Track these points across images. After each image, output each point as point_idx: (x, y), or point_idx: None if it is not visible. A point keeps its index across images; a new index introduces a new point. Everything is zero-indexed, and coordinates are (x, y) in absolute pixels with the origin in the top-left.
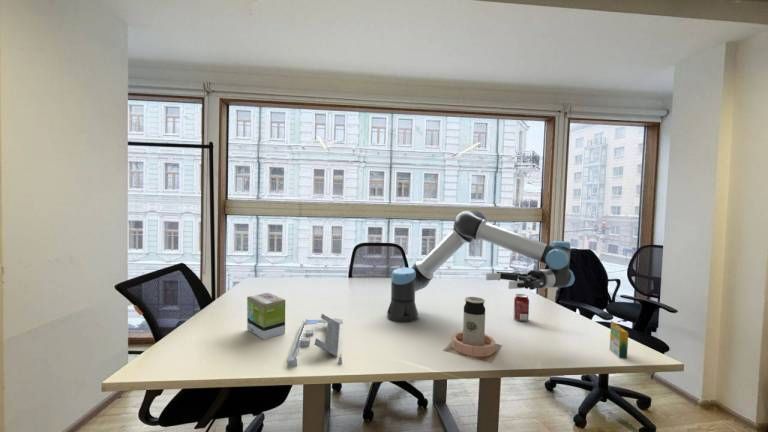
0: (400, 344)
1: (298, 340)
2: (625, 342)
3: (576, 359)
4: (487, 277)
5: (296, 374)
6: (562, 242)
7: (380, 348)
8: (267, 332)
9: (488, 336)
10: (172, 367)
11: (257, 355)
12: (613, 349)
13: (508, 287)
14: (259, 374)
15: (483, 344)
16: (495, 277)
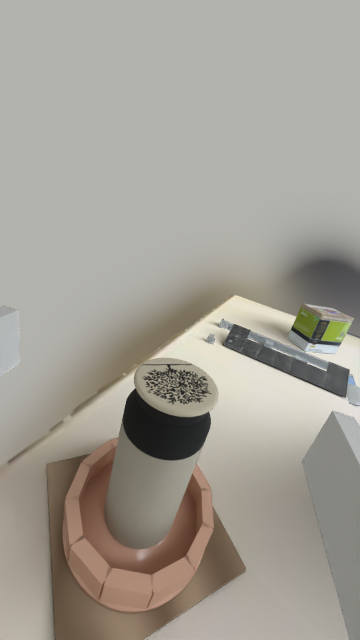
0: (238, 408)
1: (277, 346)
2: None
3: None
4: (315, 442)
5: (203, 321)
6: None
7: (232, 382)
8: (292, 334)
9: (120, 578)
10: (245, 305)
11: (250, 325)
12: None
13: (19, 357)
14: (215, 314)
15: (105, 508)
16: (357, 574)
